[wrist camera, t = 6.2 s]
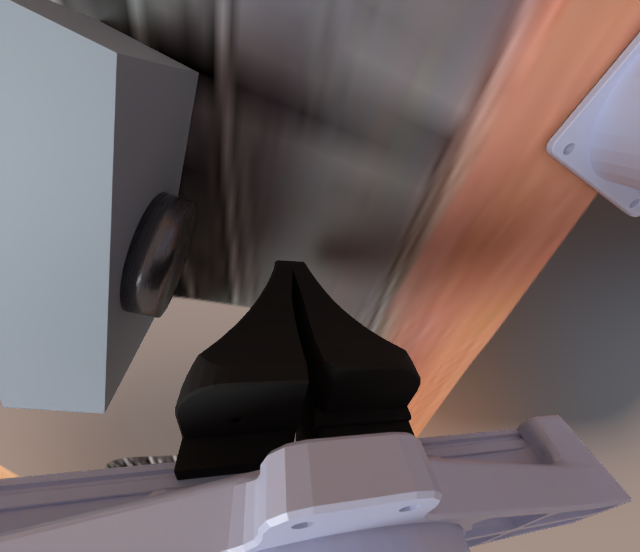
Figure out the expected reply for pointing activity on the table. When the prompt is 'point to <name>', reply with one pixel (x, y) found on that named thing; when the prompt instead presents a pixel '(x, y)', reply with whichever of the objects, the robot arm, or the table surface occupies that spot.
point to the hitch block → (77, 196)
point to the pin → (157, 255)
